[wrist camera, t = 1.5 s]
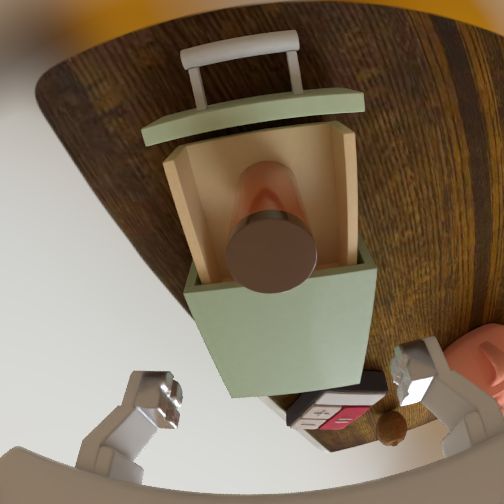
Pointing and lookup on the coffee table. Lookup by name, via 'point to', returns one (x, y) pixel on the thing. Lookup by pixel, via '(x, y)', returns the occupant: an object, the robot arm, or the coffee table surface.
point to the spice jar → (269, 231)
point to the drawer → (261, 156)
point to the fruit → (391, 428)
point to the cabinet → (288, 329)
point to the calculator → (337, 403)
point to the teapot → (480, 359)
